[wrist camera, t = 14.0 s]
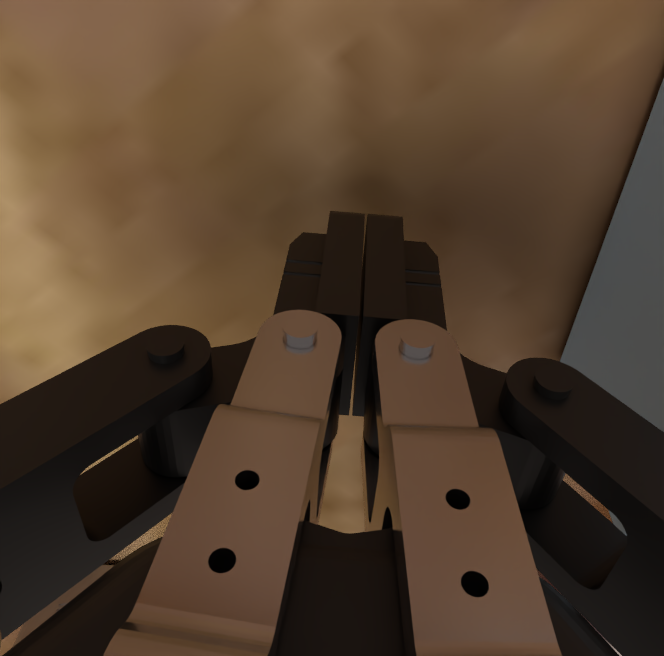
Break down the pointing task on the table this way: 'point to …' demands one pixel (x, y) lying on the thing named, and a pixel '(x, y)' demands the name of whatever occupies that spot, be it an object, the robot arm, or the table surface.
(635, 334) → the free jaw
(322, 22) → the table surface
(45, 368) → the table surface
